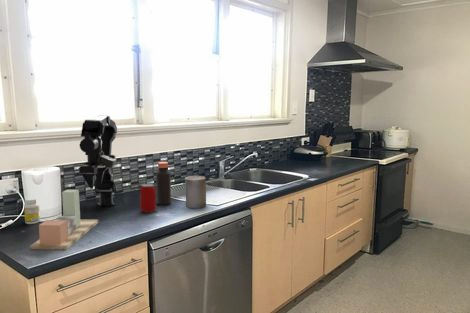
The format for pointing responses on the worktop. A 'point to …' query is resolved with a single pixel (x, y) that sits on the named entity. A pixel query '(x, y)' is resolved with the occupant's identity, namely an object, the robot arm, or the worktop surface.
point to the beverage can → (147, 198)
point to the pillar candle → (195, 191)
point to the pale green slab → (71, 204)
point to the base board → (71, 231)
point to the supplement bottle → (31, 211)
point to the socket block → (53, 232)
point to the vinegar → (163, 184)
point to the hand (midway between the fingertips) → (95, 186)
